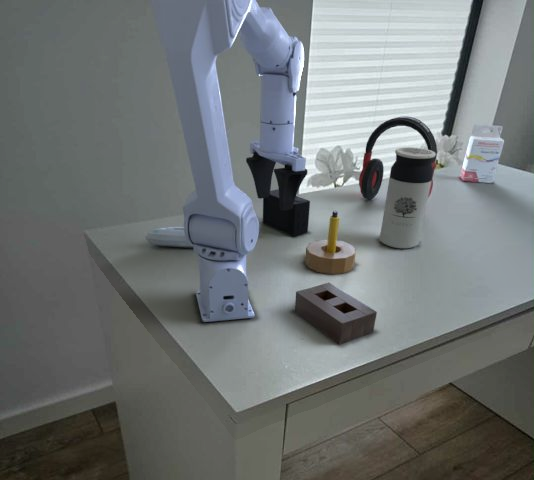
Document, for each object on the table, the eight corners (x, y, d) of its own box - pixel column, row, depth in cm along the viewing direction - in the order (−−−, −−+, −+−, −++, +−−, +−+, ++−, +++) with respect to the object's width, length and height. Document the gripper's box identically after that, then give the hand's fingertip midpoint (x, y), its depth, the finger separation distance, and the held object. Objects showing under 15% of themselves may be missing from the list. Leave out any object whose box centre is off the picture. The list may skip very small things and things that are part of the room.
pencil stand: (339, 344, 70) (342, 323, 68) (294, 311, 77) (295, 291, 75) (373, 332, 73) (377, 311, 71) (326, 301, 80) (328, 282, 78)
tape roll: (360, 272, 90) (362, 256, 88) (313, 275, 88) (315, 260, 87) (343, 252, 97) (345, 238, 96) (299, 255, 96) (300, 241, 94)
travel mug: (386, 232, 107) (401, 145, 97) (422, 240, 104) (442, 150, 94) (373, 243, 102) (388, 152, 92) (411, 252, 98) (430, 158, 88)
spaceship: (148, 254, 94) (145, 231, 92) (145, 242, 99) (142, 220, 97) (264, 243, 100) (265, 222, 98) (256, 232, 105) (256, 212, 103)
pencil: (335, 265, 92) (341, 212, 87) (327, 265, 92) (332, 213, 87) (332, 261, 94) (338, 209, 88) (324, 262, 93) (329, 210, 88)
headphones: (431, 204, 125) (450, 118, 114) (419, 215, 118) (437, 124, 107) (367, 192, 132) (378, 110, 121) (351, 201, 125) (362, 115, 114)
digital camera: (312, 231, 107) (314, 199, 103) (293, 237, 104) (295, 204, 100) (280, 218, 113) (282, 187, 109) (262, 223, 110) (263, 191, 106)
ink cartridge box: (463, 181, 144) (476, 127, 136) (459, 177, 148) (472, 124, 140) (493, 183, 143) (508, 128, 135) (489, 178, 147) (503, 125, 139)
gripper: (323, 127, 78) (316, 211, 86) (273, 113, 88) (271, 189, 96) (286, 130, 75) (282, 217, 83) (239, 115, 85) (239, 194, 93)
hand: (274, 203), depth 89 cm, fingers open, 7 cm apart
